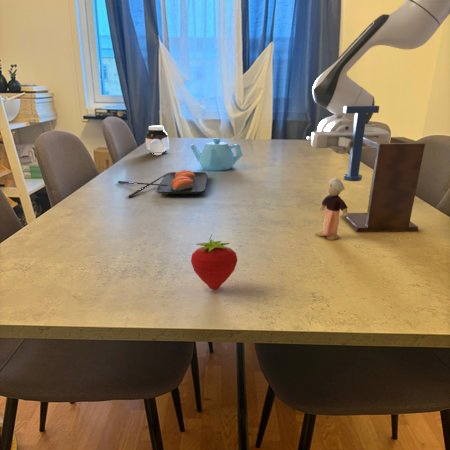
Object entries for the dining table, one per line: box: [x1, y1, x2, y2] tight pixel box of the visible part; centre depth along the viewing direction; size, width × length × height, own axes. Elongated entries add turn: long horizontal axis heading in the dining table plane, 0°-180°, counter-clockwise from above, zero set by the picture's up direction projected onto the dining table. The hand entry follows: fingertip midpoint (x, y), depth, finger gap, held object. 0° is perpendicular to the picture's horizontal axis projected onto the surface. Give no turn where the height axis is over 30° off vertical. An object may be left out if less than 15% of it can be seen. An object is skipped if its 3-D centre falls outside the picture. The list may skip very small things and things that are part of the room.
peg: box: [343, 105, 380, 182], centre depth 108 cm, size 8×5×18 cm, turn 92°
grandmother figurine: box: [317, 178, 349, 241], centre depth 92 cm, size 8×4×13 cm, turn 44°
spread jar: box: [145, 125, 170, 156], centre depth 196 cm, size 12×11×12 cm
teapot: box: [189, 137, 243, 172], centre depth 165 cm, size 15×15×11 cm
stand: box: [341, 136, 426, 233], centre depth 99 cm, size 14×12×19 cm
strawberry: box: [190, 234, 238, 291], centre depth 70 cm, size 6×8×10 cm
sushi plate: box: [117, 169, 208, 199], centre depth 138 cm, size 29×30×4 cm
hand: (358, 143), depth 107 cm, fingers closed on peg, 2 cm apart
